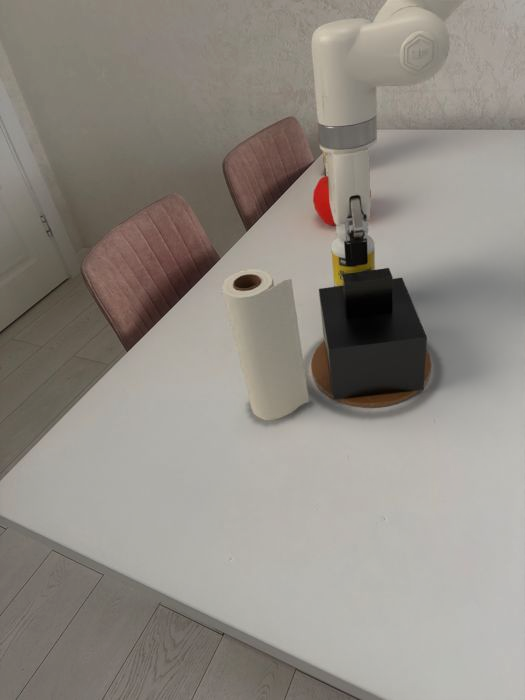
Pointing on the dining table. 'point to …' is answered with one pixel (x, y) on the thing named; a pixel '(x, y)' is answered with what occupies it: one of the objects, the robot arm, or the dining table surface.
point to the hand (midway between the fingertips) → (353, 251)
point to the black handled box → (370, 342)
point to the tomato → (324, 201)
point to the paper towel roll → (266, 342)
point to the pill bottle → (339, 255)
